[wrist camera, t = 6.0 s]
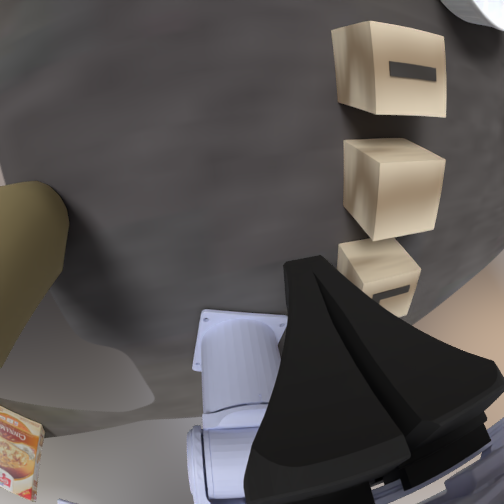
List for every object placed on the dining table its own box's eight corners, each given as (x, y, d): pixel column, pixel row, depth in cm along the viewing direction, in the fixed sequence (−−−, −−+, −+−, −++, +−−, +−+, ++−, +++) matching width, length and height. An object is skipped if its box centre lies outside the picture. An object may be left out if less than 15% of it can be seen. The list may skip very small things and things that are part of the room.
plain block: (397, 197, 21) (433, 229, 17) (342, 205, 21) (373, 241, 17) (402, 137, 18) (445, 160, 14) (343, 140, 18) (380, 163, 14)
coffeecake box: (42, 423, 40) (31, 501, 24) (45, 432, 43) (37, 503, 28) (-14, 397, 35) (-31, 470, 19) (-7, 408, 38) (-21, 475, 22)
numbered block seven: (383, 277, 26) (408, 315, 22) (335, 288, 26) (355, 330, 21) (391, 233, 23) (422, 269, 19) (338, 243, 23) (364, 284, 19)
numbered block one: (400, 102, 16) (447, 118, 12) (337, 102, 16) (377, 114, 12) (397, 37, 14) (446, 37, 9) (330, 30, 13) (370, 20, 9)
